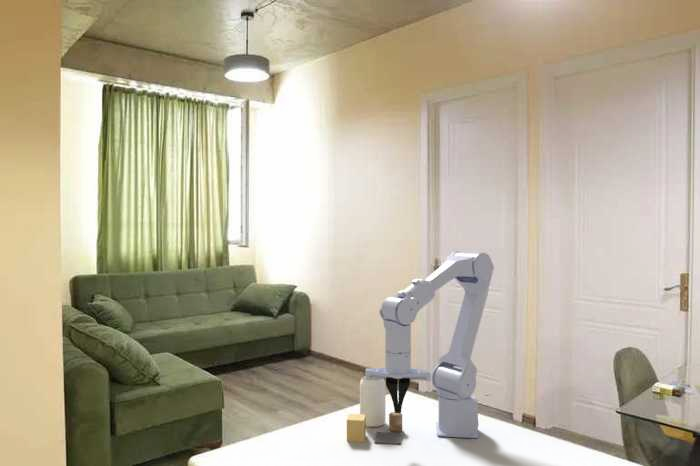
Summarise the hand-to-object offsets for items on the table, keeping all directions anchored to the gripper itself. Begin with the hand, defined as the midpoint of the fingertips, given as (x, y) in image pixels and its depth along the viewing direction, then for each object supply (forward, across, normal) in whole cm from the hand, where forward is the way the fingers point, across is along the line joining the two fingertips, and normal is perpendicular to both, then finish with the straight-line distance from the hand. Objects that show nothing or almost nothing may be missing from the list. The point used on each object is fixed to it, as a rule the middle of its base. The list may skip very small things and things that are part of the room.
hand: (398, 411), depth 119 cm
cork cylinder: (+8, -1, +11) cm, 14 cm away
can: (+9, -7, +15) cm, 19 cm away
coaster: (+8, -2, +6) cm, 10 cm away
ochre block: (+8, -10, +5) cm, 14 cm away
